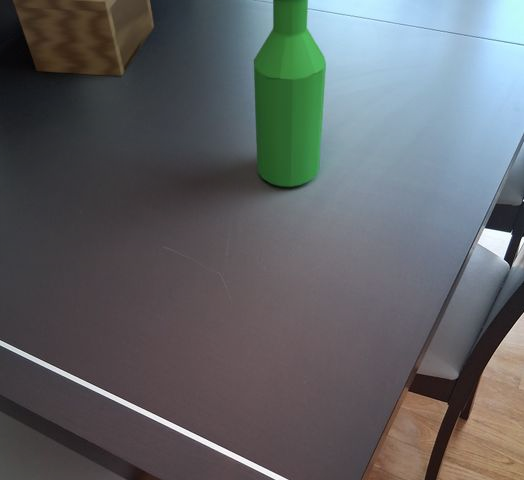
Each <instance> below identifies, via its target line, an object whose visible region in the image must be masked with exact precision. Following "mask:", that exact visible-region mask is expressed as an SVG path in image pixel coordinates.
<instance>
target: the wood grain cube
mask: <svg viewBox="0 0 524 480" xmlns="http://www.w3.org/2000/svg"><path fill="white" fill-rule="evenodd" d="M12 3H13V5H14V7H15V10H16V14H17V16H18V17H17V18H18V20H19V23H20V26H21V29H22V31H23V35H24V38H25V40H26V44H27V46H28V49H29V52H30V55H31V58H32V61H33V64H34V67H35V69H36V72H43V73H44V72H45V73H60V74H61V73H62V74H77V75H94V76H111V77H123V75H124V74H125V73H126V71H127V69H128V67H129V66H130V64H131V63H132V62H133V60H134V58H135V57H136V56H137V54H138V53H139V51H140V49H141V48H142V46H143V45H144V43H145V42H146V40H147V39H148V38H149V35H150V34H151V33H152V31H153V29H154V28H155V24H154V23H155V22H154V17H153V11H152V6H151V0H12Z"/></svg>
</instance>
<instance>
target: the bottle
mask: <svg viewBox="0 0 524 480" xmlns="http://www.w3.org/2000/svg"><path fill="white" fill-rule="evenodd" d="M272 6H273V7H272V29H271V31H270V32H269V34H268V36H267V37H266V39H265V41H264V42H263V44H262V45H261V47H260V49H259V51H258V52H257V54H256V56H255V57H254V59H253V73H254V74H253V79H254V80H253V83H254V111H255V112H254V113H255V118H254V119H255V136H256V137H255V141H256V166H257V173H258V174H259V176H260V177H261V179H263V180H265V181H266V182H268V183H269V184H271V185H273V186H277V187H281V188H283V187H284V188H293V187H299V186H301V185H304V184H306V183H309V182H310V181H311V180H313V179H314V178H315V177H316V176H317V175H318V172H319V170H320V163H321V161H320V160H321V146H322V132H323V119H324V118H323V116H324V101H325V85H326V70H327V68H326V67H327V62H326V59H325V58H326V57H325V55H324V54H323V51H321V49H320V47H319V46H318V44H317V42H316V40H315V39H314V37H313V35H312V34H311V32H310V31H309V29H308V10H309V9H308V7H309V0H272Z"/></svg>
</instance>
